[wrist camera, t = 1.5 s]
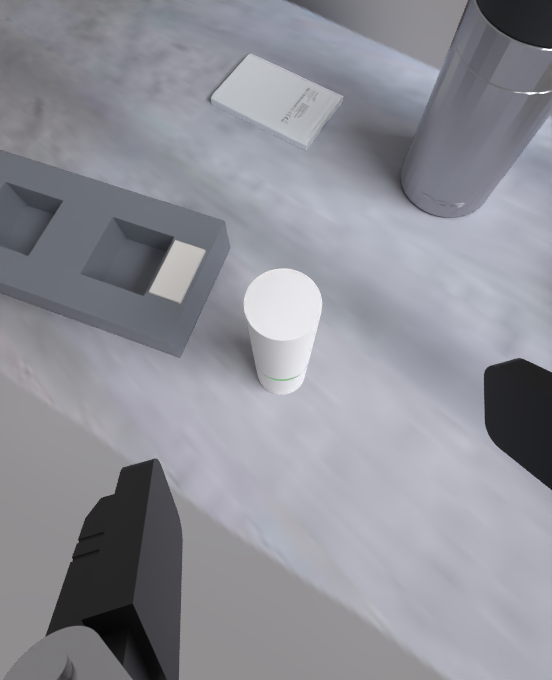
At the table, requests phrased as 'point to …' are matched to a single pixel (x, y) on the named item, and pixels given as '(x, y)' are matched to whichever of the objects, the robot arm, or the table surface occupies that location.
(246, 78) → the external hard drive
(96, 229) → the socket block
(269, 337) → the tube
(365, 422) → the table surface
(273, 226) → the table surface
